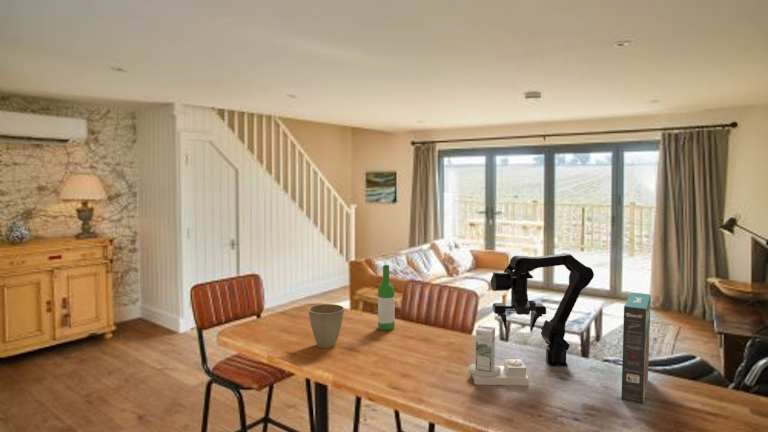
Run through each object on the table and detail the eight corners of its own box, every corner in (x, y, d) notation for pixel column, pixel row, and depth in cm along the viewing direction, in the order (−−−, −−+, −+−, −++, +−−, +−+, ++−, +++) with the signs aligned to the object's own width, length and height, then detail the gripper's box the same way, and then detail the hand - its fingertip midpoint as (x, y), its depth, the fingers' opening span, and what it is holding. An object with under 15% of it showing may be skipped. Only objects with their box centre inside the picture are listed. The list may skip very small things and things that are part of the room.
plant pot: (302, 348, 203) (301, 311, 202) (319, 338, 217) (319, 302, 216) (334, 353, 197) (333, 314, 196) (350, 342, 211) (349, 305, 210)
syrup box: (495, 366, 173) (495, 326, 172) (491, 372, 168) (491, 331, 167) (479, 364, 175) (479, 324, 174) (474, 370, 170) (475, 329, 169)
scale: (521, 372, 176) (521, 356, 176) (528, 385, 165) (528, 368, 165) (466, 371, 177) (466, 355, 177) (470, 384, 167) (470, 367, 166)
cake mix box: (642, 404, 151) (645, 308, 149) (621, 399, 154) (624, 306, 152) (648, 379, 170) (650, 294, 168) (628, 376, 173) (631, 292, 171)
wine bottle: (394, 331, 227) (394, 267, 225) (377, 331, 227) (377, 267, 225) (394, 326, 234) (394, 264, 232) (378, 326, 235) (377, 264, 233)
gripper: (497, 294, 174) (497, 337, 175) (550, 295, 173) (550, 338, 174) (492, 288, 185) (492, 328, 187) (542, 288, 184) (541, 329, 185)
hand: (518, 331), depth 183 cm, fingers open, 9 cm apart
